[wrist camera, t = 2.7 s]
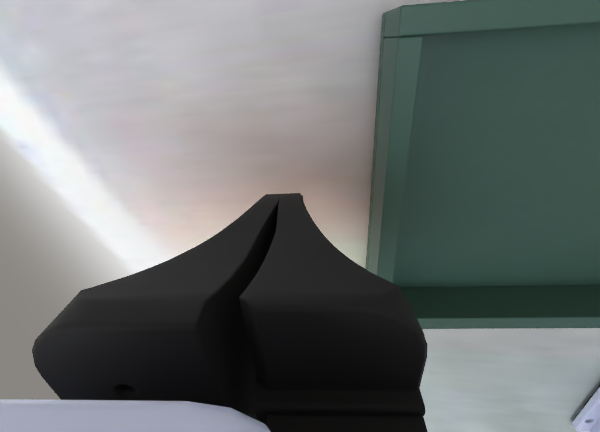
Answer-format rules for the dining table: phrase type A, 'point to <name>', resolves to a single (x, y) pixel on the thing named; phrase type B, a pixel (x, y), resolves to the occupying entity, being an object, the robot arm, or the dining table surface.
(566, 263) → the tray
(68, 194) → the dining table surface
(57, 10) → the dining table surface
